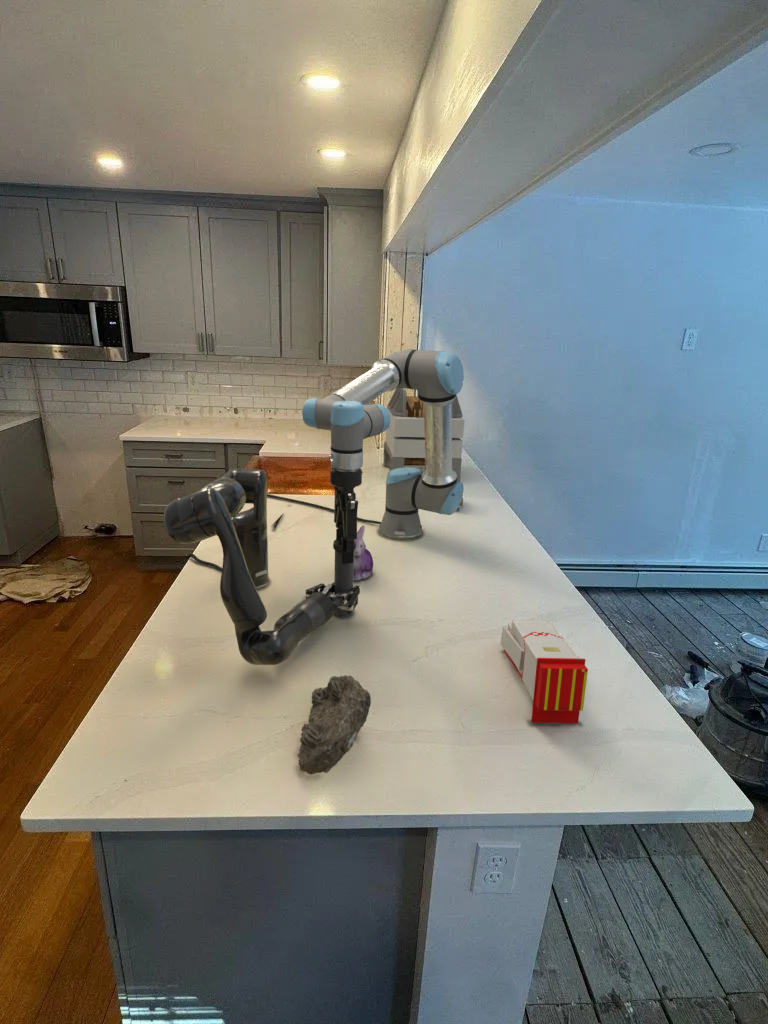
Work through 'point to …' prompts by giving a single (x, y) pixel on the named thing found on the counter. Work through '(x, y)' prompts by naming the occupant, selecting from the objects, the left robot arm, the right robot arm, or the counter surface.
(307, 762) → the fossil
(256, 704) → the counter surface
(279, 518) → the dark tapered rod
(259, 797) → the counter surface
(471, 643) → the counter surface
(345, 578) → the dark grey cylinder
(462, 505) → the figurine character
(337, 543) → the lid
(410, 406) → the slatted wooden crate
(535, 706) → the toy
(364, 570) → the figurine
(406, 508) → the right robot arm
